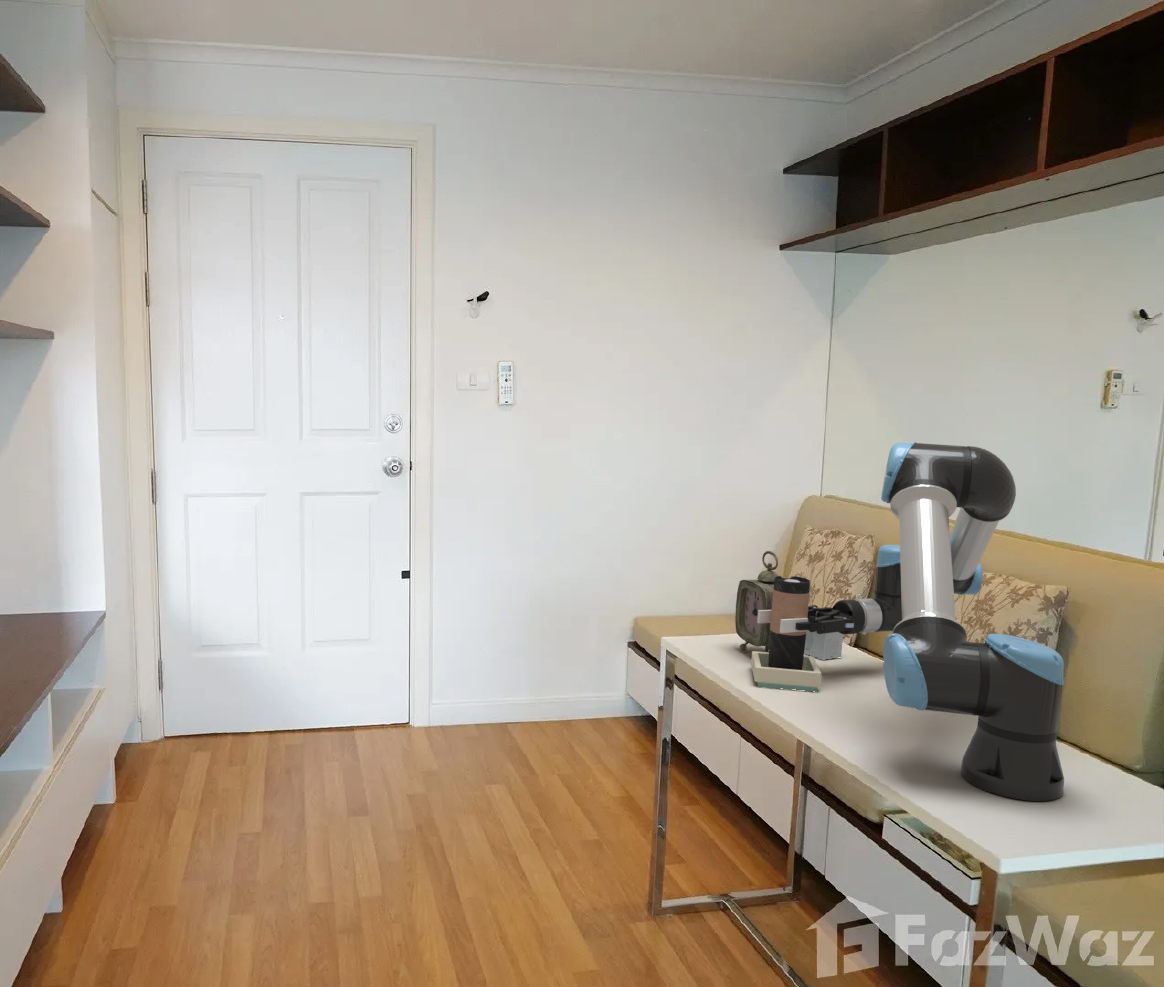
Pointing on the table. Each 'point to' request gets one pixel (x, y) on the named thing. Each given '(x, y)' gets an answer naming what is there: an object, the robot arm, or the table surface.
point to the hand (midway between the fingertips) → (769, 621)
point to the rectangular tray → (785, 674)
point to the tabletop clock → (755, 606)
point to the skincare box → (823, 645)
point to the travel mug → (788, 605)
